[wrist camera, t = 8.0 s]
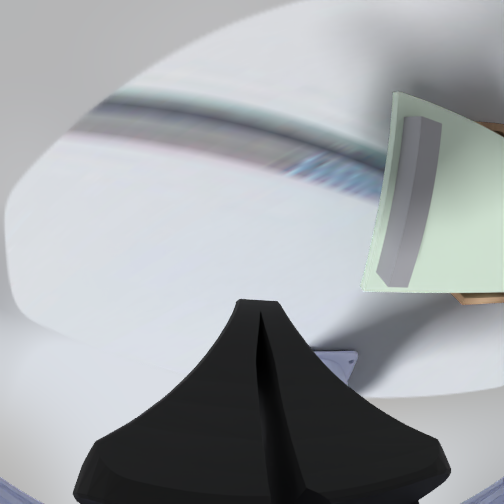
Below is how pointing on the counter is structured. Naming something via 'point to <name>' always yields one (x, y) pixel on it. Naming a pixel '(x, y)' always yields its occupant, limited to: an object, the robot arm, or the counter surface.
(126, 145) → the counter surface
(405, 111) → the lid
